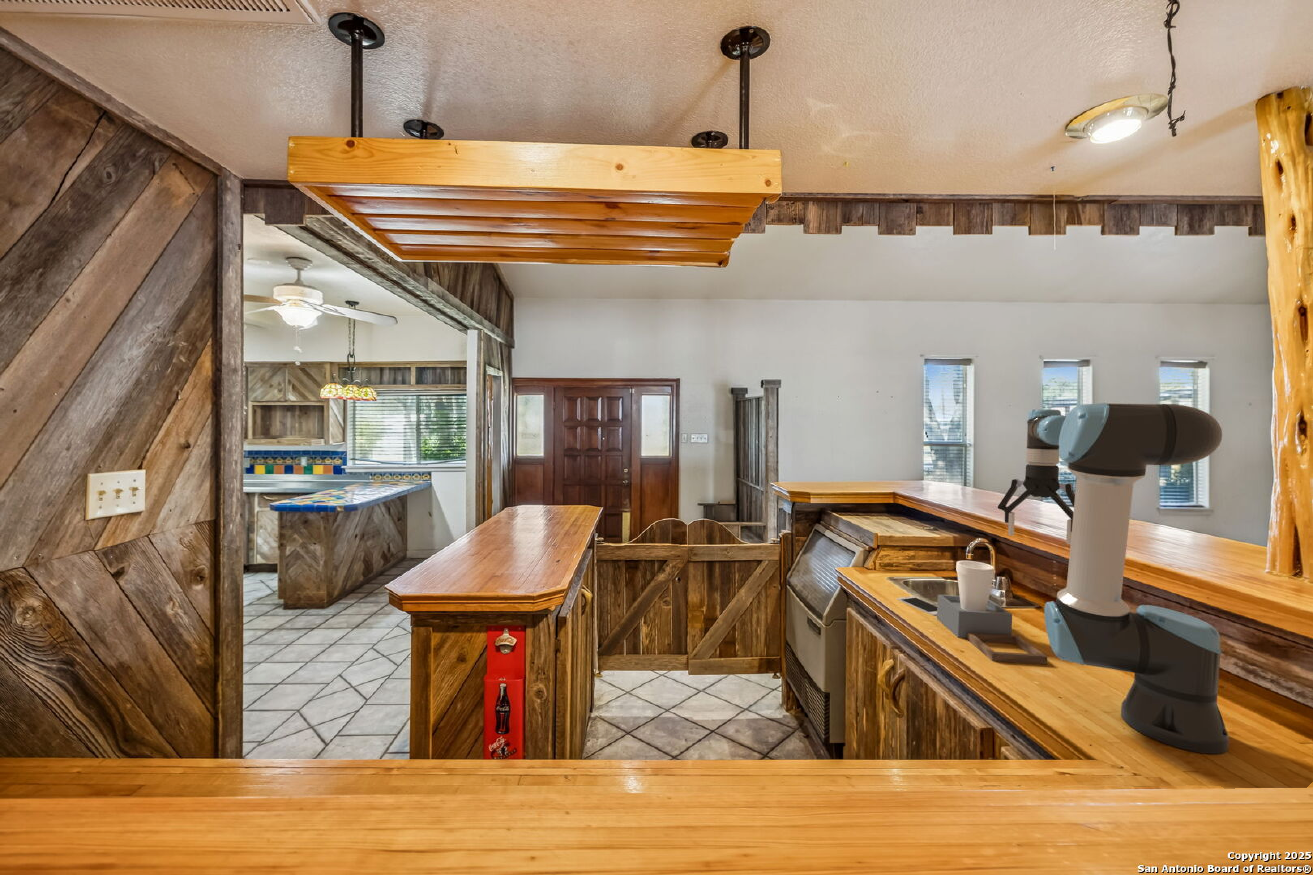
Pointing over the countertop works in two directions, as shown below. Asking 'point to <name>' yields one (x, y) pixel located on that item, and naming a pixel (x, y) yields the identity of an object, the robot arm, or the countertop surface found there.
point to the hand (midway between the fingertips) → (1038, 539)
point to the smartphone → (919, 604)
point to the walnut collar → (1032, 656)
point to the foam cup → (974, 584)
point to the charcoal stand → (972, 618)
